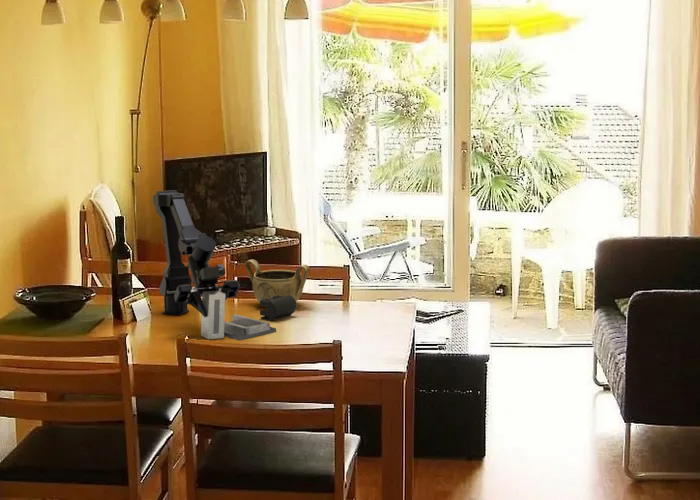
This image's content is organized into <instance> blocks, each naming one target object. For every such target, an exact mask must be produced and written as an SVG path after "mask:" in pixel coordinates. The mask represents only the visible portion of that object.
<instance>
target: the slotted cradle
mask: <svg viewBox="0 0 700 500" xmlns="http://www.w3.org/2000/svg"><path fill="white" fill-rule="evenodd" d="M270 324H271V323H270V322H268V321H267V322H266V321H264V320H263V321H262V320H259V319H256V318H252V317H251V318H250V317H247V316H244V315H239V314H235V313H234V314H232V321H225V320H224V337H227V338H231V339H234V340H237V341H243V340H246V339H251V338H255V337H260V336H264V335H268V334H272V333H276V332H277V328H276V327H272V326H271V325H270Z"/></svg>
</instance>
